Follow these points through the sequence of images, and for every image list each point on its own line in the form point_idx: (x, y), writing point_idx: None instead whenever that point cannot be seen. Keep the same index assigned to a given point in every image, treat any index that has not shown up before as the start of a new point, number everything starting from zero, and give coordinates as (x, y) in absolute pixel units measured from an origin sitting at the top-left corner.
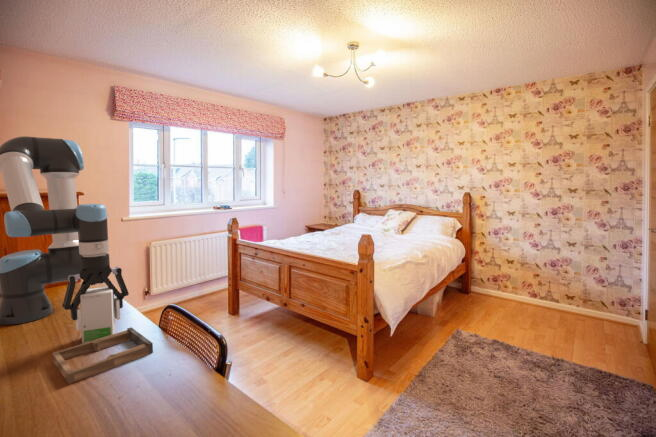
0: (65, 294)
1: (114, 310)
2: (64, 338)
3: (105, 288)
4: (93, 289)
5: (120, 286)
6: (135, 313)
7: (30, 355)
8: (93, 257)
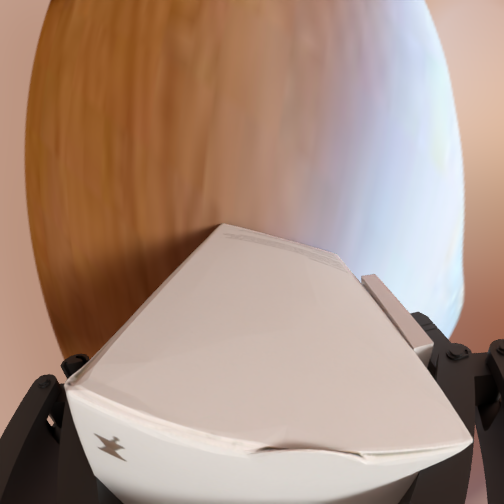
0: (1, 441)
1: (376, 301)
2: (147, 183)
3: (368, 498)
4: (215, 492)
5: (498, 449)
6: (449, 94)
7: (71, 268)
8: None
